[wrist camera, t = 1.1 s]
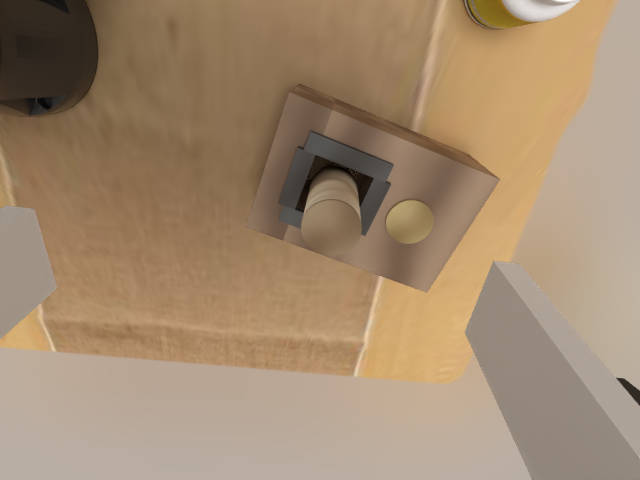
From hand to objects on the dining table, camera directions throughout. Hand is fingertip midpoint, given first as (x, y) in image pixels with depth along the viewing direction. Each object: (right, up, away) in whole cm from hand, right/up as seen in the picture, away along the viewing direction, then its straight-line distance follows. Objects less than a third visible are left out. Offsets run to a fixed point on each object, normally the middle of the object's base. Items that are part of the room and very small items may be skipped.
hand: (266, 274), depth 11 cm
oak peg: (+3, +6, +21) cm, 21 cm away
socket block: (+6, +8, +27) cm, 29 cm away
